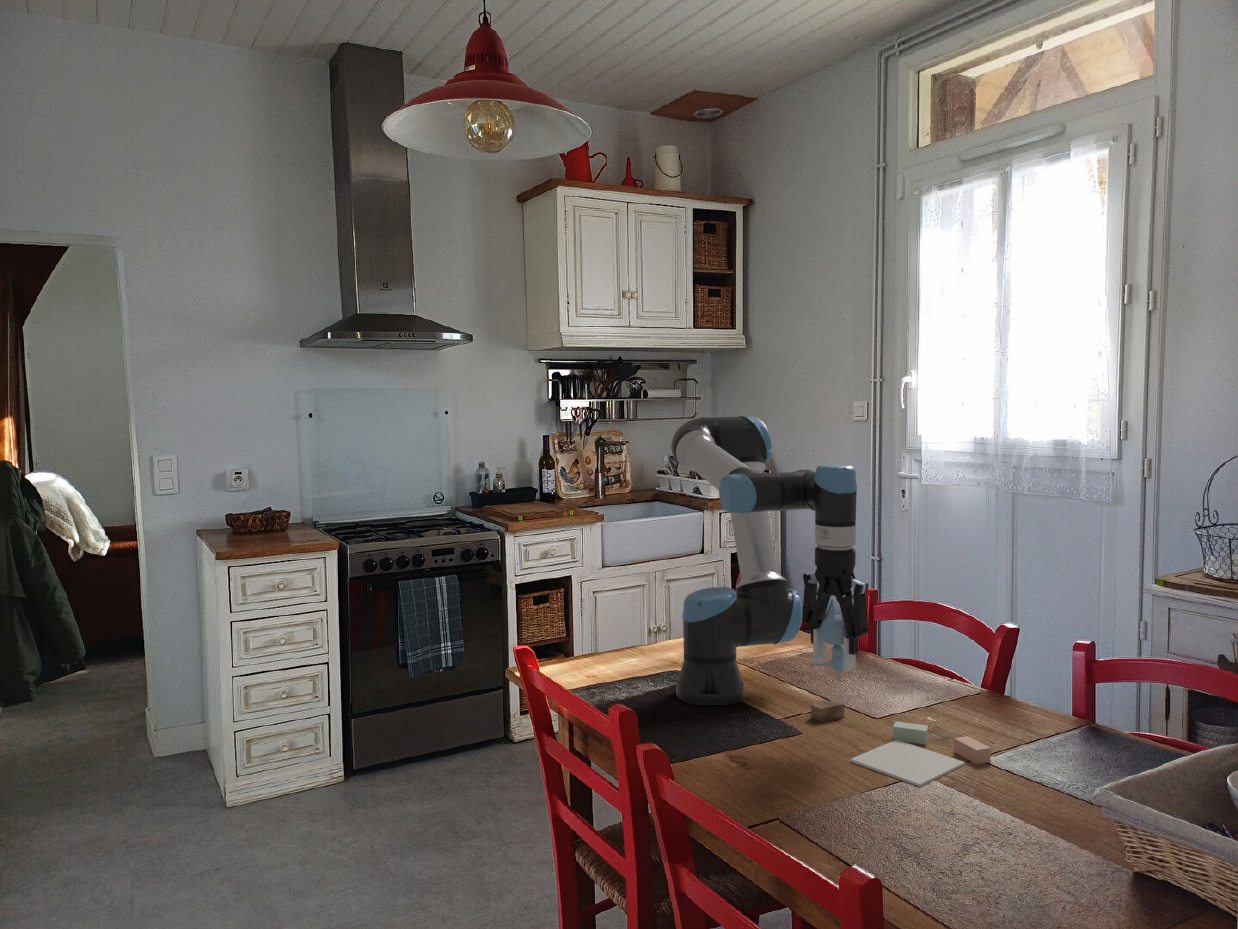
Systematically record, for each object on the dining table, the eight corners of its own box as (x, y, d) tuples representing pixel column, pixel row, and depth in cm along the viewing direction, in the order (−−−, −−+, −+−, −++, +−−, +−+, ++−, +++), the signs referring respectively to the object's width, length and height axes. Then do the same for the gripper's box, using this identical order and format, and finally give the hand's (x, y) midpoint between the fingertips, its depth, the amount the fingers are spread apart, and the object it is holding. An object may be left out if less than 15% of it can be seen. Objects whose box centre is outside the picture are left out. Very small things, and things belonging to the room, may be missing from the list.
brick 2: (892, 741, 171) (892, 726, 171) (895, 736, 174) (895, 721, 173) (925, 746, 168) (926, 731, 168) (927, 741, 171) (928, 725, 171)
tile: (850, 762, 161) (850, 759, 161) (896, 742, 170) (896, 739, 170) (919, 787, 150) (919, 784, 150) (965, 765, 159) (965, 762, 159)
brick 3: (953, 754, 165) (954, 738, 164) (967, 752, 166) (967, 736, 165) (976, 766, 159) (976, 750, 159) (990, 764, 160) (990, 747, 160)
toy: (835, 684, 168) (839, 607, 167) (809, 675, 173) (813, 600, 172) (859, 679, 171) (863, 604, 170) (833, 670, 177) (837, 597, 176)
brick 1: (820, 723, 181) (820, 709, 181) (811, 719, 184) (811, 704, 184) (844, 718, 184) (844, 704, 184) (834, 713, 186) (834, 699, 186)
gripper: (782, 542, 175) (782, 658, 177) (866, 556, 160) (864, 682, 162) (807, 538, 180) (806, 650, 182) (890, 551, 165) (889, 673, 167)
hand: (834, 665), depth 172 cm, fingers closed on toy, 6 cm apart
